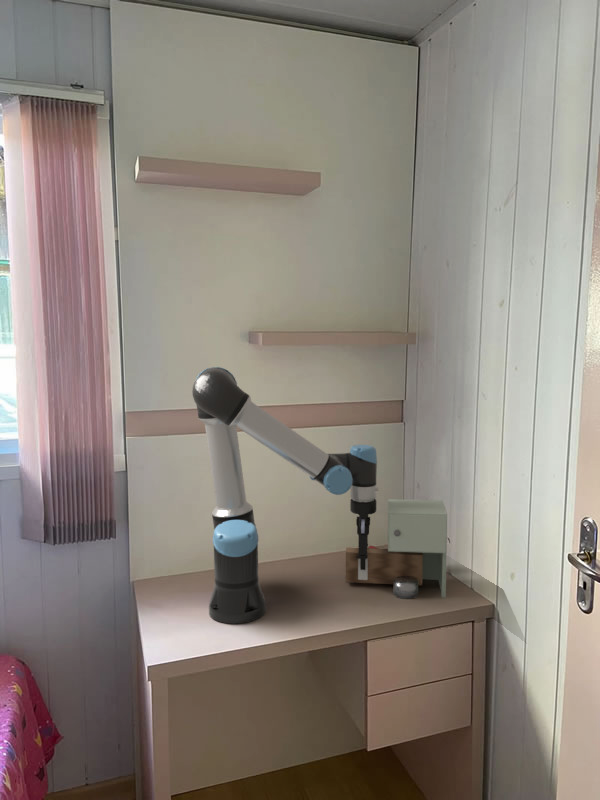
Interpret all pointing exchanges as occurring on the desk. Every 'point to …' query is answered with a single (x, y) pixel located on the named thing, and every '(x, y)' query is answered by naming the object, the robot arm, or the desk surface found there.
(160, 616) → the desk surface
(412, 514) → the green bedside cabinet
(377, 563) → the brown wooden block
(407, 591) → the silver metal dome
